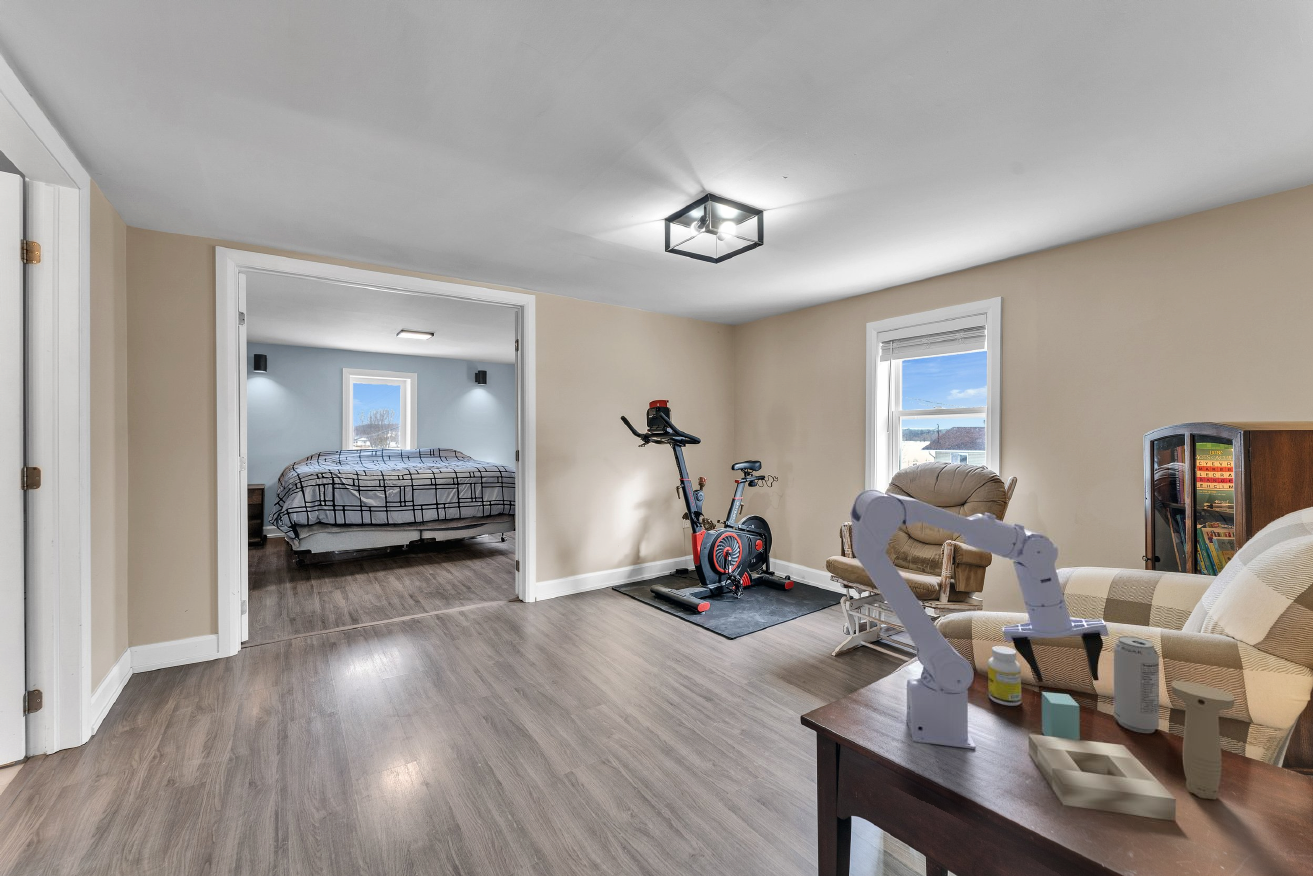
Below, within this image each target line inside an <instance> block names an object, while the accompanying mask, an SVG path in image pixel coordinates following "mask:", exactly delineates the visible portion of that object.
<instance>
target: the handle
mask: <svg viewBox="0 0 1313 876" xmlns="http://www.w3.org/2000/svg"><path fill="white" fill-rule="evenodd" d="M1171 693H1172V695H1173V696H1175V698H1177V699H1179V700H1180V701H1182V702H1183V703H1184V705H1185V715H1184V716H1185V717H1184V718H1185V719H1184V733H1183V741H1182V765H1183V772H1184V775H1185V776H1184V777H1185V778H1186V781H1185V784H1186V785H1185V786H1186V789H1187V791H1188V792H1189V793H1192V794H1194V795H1196V796H1198V798H1200V799H1203V798H1204V799H1209V800H1212V799H1213V800H1212V801H1214V799H1215V800H1217V798H1218V794H1219V792H1218V790H1219V787H1220V784H1221V778H1222V768H1223V763H1222V759H1223V758H1222V748H1221V736H1220V721H1219V717H1220V716H1219V715H1220V712H1221V711H1227V710H1228V711H1229V710H1231V709H1232V710H1233V708H1234V707H1235V696H1234V695H1233V694H1232V693H1230V692H1227V691H1225V690H1222V689H1220V688H1216V687H1212V686H1208V685H1204V684H1200V683H1195V682H1189V681H1182V680H1175V681H1172V682H1171ZM1204 799H1203V800H1204Z"/></svg>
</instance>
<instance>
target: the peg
mask: <svg viewBox="0 0 1313 876" xmlns="http://www.w3.org/2000/svg"><path fill="white" fill-rule="evenodd" d="M1041 732H1042V733H1043V736H1049V737H1058V738H1067V739H1075V740H1080V705H1079V704H1078V703H1077V702H1076V700H1074V698H1072V697H1071V696H1070V694H1067V693H1057V692H1056V693H1055V692H1048V691H1046V692H1045V691H1041Z"/></svg>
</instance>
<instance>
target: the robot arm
mask: <svg viewBox="0 0 1313 876" xmlns="http://www.w3.org/2000/svg"><path fill="white" fill-rule="evenodd" d="M853 502H854V503H853V505H852V508H851V510H850V519H851V534H852V535H851V536H852V537H851V538H852V539H851V540H852V541H851V543H852V552H853V554H854V556H855V558H856V559H857V560H858V562H859V563H860V564H861V566H862V568H863V569H864V570H865V573H867V575H868V577H869V578H870V580H871V581H872V583H873V584H874V586H876V589H877V590H878V591H879V593H880V595H881V596H882V598H883V599H884V600H885V602H886V603H887V605H888V606H889V608H890V609H891V610H892V612H893V614H894V615H895V616H896V619H898V621H899V622H900V624H901V626H902V627H903V629H904V630H905V631H906V632H907V633H906V634H908V636H909V638H910V640H911V642H912V643H913V645H914V647H915V651H916V658H917V660H918V662H919V663H920V664H921V666H922V671H921V674H920V677H919V678H915V679H914V678H913V679H911V678H910V679H907V681H906V721H907V724H908V728H909V731H910V734H911V737H912V740H913V742H916V743H924V744H932V745H938V746H939V745H940V746H948V747H956V748H965V749H973V750H975V749H976V747H977V746H976V744H975V742H974V740H973V738H972V736H971V734H970V732H969V730H968V729H969V721H968V719H969V717H968V716H969V714H968V713H969V710H968V706H969V705H968V703H969V702H968V698H969V697H968V694H969V693H968V690H969V687H970V686H971V685H972V683H973V681H974V674H975V673H974V670H973V666H972V665H971V663H970V662H969V661H968V660H967V659H966V658H965V657H963V656H962V655H961V654H960V652H958V651H957V650H956V649H955V648H954V647H953V646H952V644H951V643H950V642H949V640H947V639H946V638H945V636H943V634H942V633H941V631H940V630H939V629H938V628H937V626H936V625H935V623H934V622H933V621H932V619H931V617H930V615H929V613H927V611H926V610H925V609H924V607H923V605H922V604H921V602H920V601H919V600H918V598H917V597H916V595H915V594H914V592H913V591H912V589H911V588H910V586H909V585H908V584H907V582H906V581H905V579H904V578H903V576H902V574H901V573H900V572H899V570H898V568H896V566H895V564H894V563H893V561H892V560H891V559H890V557H889V555H888V554H887V549H888V546H889V543H890V541H891V540H890V539H892V537H893V536H894V535H895V534H896V532H897V531H898V530H899V528H900V527H901V525H903V526H905V527H909V526H911V525H914V524H916V523H922V524H925V525H928V526H932V527H935V528H937V529H942V530H944V531H948V532H951V533H954V534H957V535H960V536H961V538H962V539H963V542H964V543H965V544H966V545H967V546H969V547H972V548H975V549H977V550H978V549H979V550H982V551H983V552H986V553H989V554H993V555H996V556H998V557H1002V558H1005V559H1009V560H1012V561H1013V562H1012V563H1013V567H1014V570H1015V573H1016V577H1017V581H1018V584H1019V588H1020V592H1021V595H1022V597H1023V601H1024V605H1025V608H1026V611H1027V615H1028V619H1029V621H1026V622H1023V623H1018V624H1014V625H1013V624H1012V625H1004V626H1003V625H1002V626H1001V628H1002V633H1003V637H1004V641H1005V642H1007V643H1008V642H1013V646H1014V649H1015V651H1016V652H1018V653H1019V654H1020V656H1022V658H1023V659H1024V661H1026V663H1027V664H1028V665H1029V666H1030V668H1031V670H1032V671H1033V673H1034V675H1035V677H1036V679H1037V681H1038V683H1044V680H1043V676H1042V672H1041V669H1040V666H1039V664H1038V661H1037V659H1036V656H1035V652H1034V649H1033V645H1032V642H1031V639H1043V638H1044V639H1046V638H1049V639H1053V638H1062V637H1063V638H1064V637H1079V636H1080V638H1081V640H1082V644H1083V647H1084V651H1085V653H1086V654H1085V655H1086V659H1087V665H1088V669H1089V672H1090V674H1091V677H1092V679H1093V681H1095V682H1096V681H1100V679H1099V672H1098V671H1099V662H1100V661H1099V660H1100V656H1101V653H1102V651H1103V649H1104V641H1103V639H1102V637H1108V636H1110V634H1109V630H1108V626H1107V623H1106V622H1105V621H1104V619H1081V618H1080V619H1079V618H1077V619H1076V618H1071V617H1070V614H1069V610H1068V606H1067V603H1066V600H1065V596H1064V593H1063V590H1062V585H1061V583H1060V579H1059V575H1058V572H1057V570H1056V567H1055V566H1056V565H1055V563H1056V561H1057V559H1058V556H1059V549H1058V547H1057V546H1055V545H1054V544H1053V543H1054V542H1052V540H1050V538H1049V537H1047V536H1045V535H1043V534H1041V533H1038V532H1035V531H1032V530H1029V529H1026V528H1025V526H1024V525H1022V524H1019V523H1014V524H1011V523H1007V522H1005V521H1003V520H1000V519H999V520H998V519H996V518H997V516H996V515H994V514H991V513H988V512H984V514H981V513H974V514H972V515H970V516H967V517H966V516H962V515H959V514H957V513H954V512H951V511H949V510H945V509H943V508H941V507H938V506H934V505H933V504H929V503H926V502H924V501H920V500H918V499H916V498H913V497H908V496H904V495H900V494H895V493H891V492H889V493H888V492H886V494H885V493H883V492H882V491H880V490H877V489H866V490H863V491H862V492H860V493H859V494H858V495H857V496H856V498H855V499H854V501H853Z"/></svg>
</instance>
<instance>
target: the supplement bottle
mask: <svg viewBox="0 0 1313 876" xmlns="http://www.w3.org/2000/svg"><path fill="white" fill-rule="evenodd" d="M991 656H992V657H990V658H989V659H988V661H987V662H988V663H987V672H988V675H987V677H988V678H987V680H988V681H987V683H988V684H987V685H988V697H989V698H990V699H991V700H992V701H993V702H995V703H997V704H1001V705H1004V706H1009V707H1011V706H1012V707H1013V706H1018V705H1020V704H1021V703H1022V671H1021V670H1022V669H1021V665H1020V663H1019V662H1018V661H1016V660H1017V650H1016V649H1015V648H1011V647H1008V646H1003V645H996V646H995V645H994V646H992V647H991Z"/></svg>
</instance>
